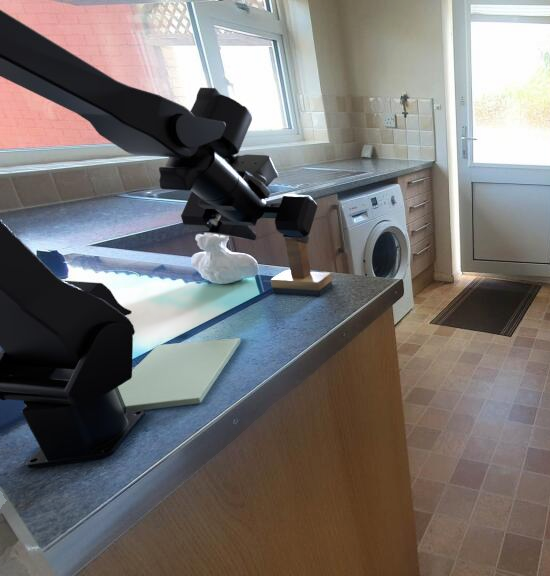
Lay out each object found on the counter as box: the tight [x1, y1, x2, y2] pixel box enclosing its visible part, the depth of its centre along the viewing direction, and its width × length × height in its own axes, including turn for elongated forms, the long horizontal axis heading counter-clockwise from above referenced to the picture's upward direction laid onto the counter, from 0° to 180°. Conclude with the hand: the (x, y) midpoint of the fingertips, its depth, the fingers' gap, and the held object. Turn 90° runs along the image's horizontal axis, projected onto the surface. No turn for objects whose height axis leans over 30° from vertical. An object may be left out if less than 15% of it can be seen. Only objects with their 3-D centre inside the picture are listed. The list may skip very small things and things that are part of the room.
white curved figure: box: [190, 232, 260, 285], centre depth 77 cm, size 12×8×11 cm
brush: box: [269, 237, 333, 297], centre depth 75 cm, size 5×9×13 cm, turn 86°
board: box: [118, 337, 242, 412], centre depth 51 cm, size 14×10×1 cm
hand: (281, 239), depth 69 cm, fingers open, 9 cm apart
